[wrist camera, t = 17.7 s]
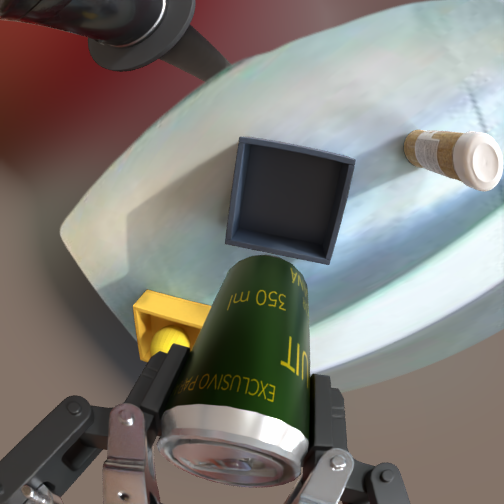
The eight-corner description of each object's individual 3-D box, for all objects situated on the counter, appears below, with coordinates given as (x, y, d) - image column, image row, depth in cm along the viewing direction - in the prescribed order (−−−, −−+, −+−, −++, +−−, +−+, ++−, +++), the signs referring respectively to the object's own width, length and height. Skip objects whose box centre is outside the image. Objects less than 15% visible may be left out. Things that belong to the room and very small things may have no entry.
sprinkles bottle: (435, 133, 25) (506, 139, 12) (433, 170, 26) (502, 196, 14) (402, 126, 25) (465, 126, 13) (401, 165, 27) (462, 188, 15)
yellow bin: (147, 289, 39) (132, 305, 35) (218, 307, 38) (209, 327, 34) (151, 342, 44) (140, 359, 40) (213, 360, 43) (205, 380, 39)
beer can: (241, 326, 20) (194, 483, 9) (213, 260, 18) (120, 422, 7) (315, 312, 18) (318, 487, 7) (296, 240, 16) (288, 430, 5)
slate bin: (247, 136, 29) (239, 136, 25) (347, 156, 28) (356, 159, 24) (233, 229, 33) (224, 244, 29) (325, 248, 33) (329, 265, 28)
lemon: (193, 317, 39) (174, 353, 32) (199, 344, 41) (182, 381, 34) (160, 313, 40) (136, 346, 33) (167, 340, 42) (147, 374, 35)
